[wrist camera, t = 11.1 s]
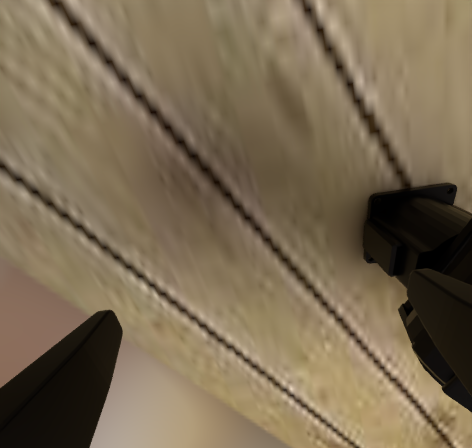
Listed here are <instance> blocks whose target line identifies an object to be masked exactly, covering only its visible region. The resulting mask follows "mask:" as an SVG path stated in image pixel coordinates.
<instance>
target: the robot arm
mask: <svg viewBox="0 0 472 448" xmlns="http://www.w3.org/2000/svg"><path fill="white" fill-rule="evenodd" d="M449 188H450V189H449ZM448 189H449V191H447V190H448ZM456 192H457V187H456V185H454V184H451V183H445V184H438V185H431V186H424V187H418V188H411V189H404V190H397V191H390V192H383V193H377V194H373V195H372V196H371V197H370V198H369V204H368V215H367V220H366V221H365V226H364V238H363V248H364V260H365V261H366V262H367V263H378V264H379V266H380V267H381V268H382V269H383V270H384V271H385V272H386V273H387V274H388V275H389V276H390V277H394V276H395V277H396V278H397V279H398V280H399V281H400V282H401V283H402V284H403V285H404V286H405V287H406V288H407V297H408V300H407V301H406V303H405V304H402V305H401V306H400V308H399V309H398V311H399V314H400V316H401V319H402V321H403V324H404V326H405V329H406V331H407V333H408V336H409V338H410V341H411V343H412V349H413V351H414V353H415V354H416V356H417V357H418V359H419V361H420V363H421V364H422V366H423V368H424V369H425V370H426V371H427V372H428V373H429V374H430V375H431V376H432V377H433V378H434V379H435V380H436V381H437V382H438V383H439V384H440V385H441V386H442V390H443V392H444V393H445V394H446V395H448V396H449V397H451V398H452V399H453V400H455V401H456V402H458V403H459V404H461V405H462V406H464V407H465V408H467V409H468V410H469V411H470V412H472V214H471V213H469V212H467V211H465V210H463V209H461V208H459V207H457V206H454V205H453V203H454V199H455V196H456ZM377 198H378V201H377V202H375V200H376V199H377ZM370 257H371V258H370ZM369 258H370V259H369ZM122 334H123V331H122V327H121V325H120V323H119V321H118V319H117V317H116V315H115V313H114V312H113V311H112V310H104V311H98V312H96V313H95V314H94V315H93V316H91V317H90V318H89V319H87V320H86V321H85V322H84V323H82V324H81V325H80V326H79V327H77V328H76V329H75V330H73V331H72V332H71V333H70V334H68V335H67V336H66V337H65V338H63V339H62V340H61V341H60V342H58V343H57V344H56V345H54V346H53V347H52V348H51V349H49V350H48V351H47V352H46V353H44V354H43V355H42V356H41V357H39V358H38V359H37V360H36V361H34V362H33V363H32V364H30V365H29V366H28V367H27V368H25V369H24V370H23V371H21V372H20V373H19V374H18V375H16V376H15V377H14V378H13V379H11V380H10V381H9V382H8V383H6V384H5V385H4V386H2V387H1V388H0V448H89V447H90V444H91V441H92V438H93V436H94V433H95V430H96V427H97V424H98V421H99V418H100V415H101V412H102V409H103V406H104V403H105V400H106V397H107V394H108V391H109V388H110V384H111V381H112V377H113V373H114V369H115V364H116V360H117V356H118V352H119V348H120V344H121V340H122Z"/></svg>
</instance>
